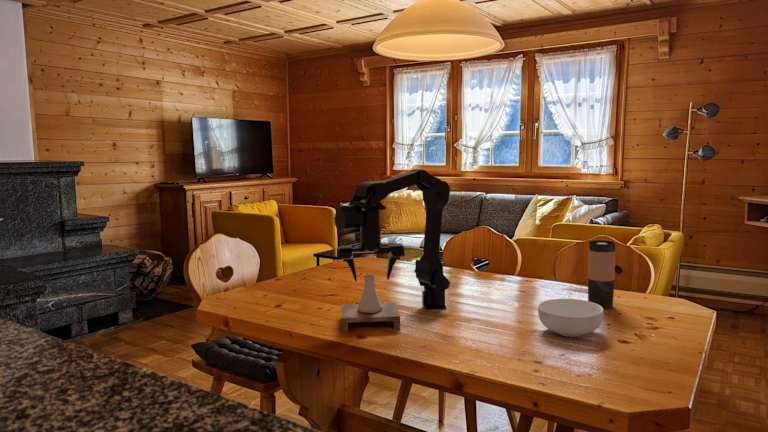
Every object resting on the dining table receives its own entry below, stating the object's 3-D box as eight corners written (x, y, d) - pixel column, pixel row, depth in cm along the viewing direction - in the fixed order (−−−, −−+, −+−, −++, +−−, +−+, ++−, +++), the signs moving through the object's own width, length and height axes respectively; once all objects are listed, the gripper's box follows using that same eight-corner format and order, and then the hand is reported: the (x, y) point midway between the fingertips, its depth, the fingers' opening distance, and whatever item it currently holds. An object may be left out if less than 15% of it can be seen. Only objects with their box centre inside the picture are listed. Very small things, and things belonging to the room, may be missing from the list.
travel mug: (617, 305, 178) (619, 241, 175) (607, 310, 172) (609, 245, 170) (593, 301, 183) (595, 239, 180) (583, 306, 177) (584, 242, 175)
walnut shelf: (395, 315, 171) (395, 302, 171) (400, 330, 157) (400, 316, 157) (342, 317, 170) (341, 304, 169) (342, 332, 156) (341, 318, 156)
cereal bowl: (531, 322, 162) (531, 298, 161) (590, 322, 162) (591, 297, 161) (546, 343, 145) (546, 316, 144) (612, 342, 145) (613, 315, 144)
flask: (375, 315, 158) (374, 279, 157) (352, 311, 162) (351, 277, 160) (387, 308, 164) (386, 274, 163) (365, 305, 168) (364, 272, 167)
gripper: (399, 221, 171) (401, 272, 173) (337, 223, 170) (339, 275, 171) (404, 226, 160) (405, 281, 162) (337, 229, 158) (339, 284, 160)
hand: (371, 280), depth 164 cm, fingers open, 9 cm apart
